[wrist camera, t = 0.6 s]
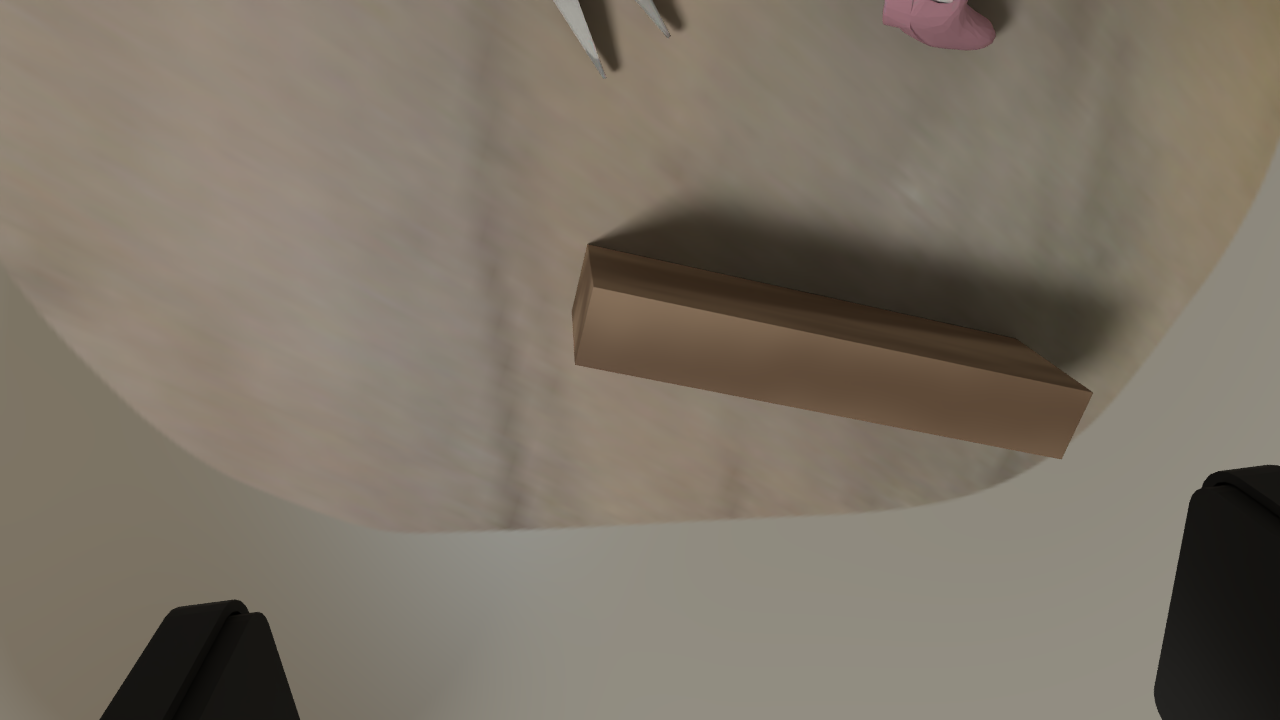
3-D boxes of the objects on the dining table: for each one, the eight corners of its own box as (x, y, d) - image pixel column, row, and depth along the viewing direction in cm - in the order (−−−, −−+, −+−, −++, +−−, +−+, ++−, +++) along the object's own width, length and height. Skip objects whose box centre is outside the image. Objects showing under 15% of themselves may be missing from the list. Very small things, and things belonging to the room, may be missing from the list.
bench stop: (587, 244, 35) (593, 286, 30) (1015, 338, 39) (1093, 392, 33) (572, 311, 36) (574, 364, 31) (990, 397, 40) (1061, 459, 34)
